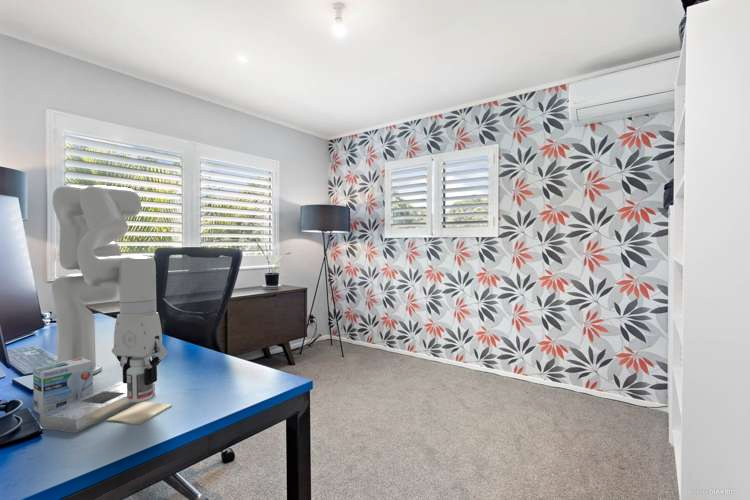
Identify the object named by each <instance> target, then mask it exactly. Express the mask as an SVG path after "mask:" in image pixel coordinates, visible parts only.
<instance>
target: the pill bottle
mask: <svg viewBox="0 0 750 500" xmlns="http://www.w3.org/2000/svg"><path fill="white" fill-rule="evenodd" d="M130 366H131V367H130V368H129V369H128V370H127V400H128V401H130V402H137V403H140V402H144V401H146V400H149V399H151V398H153V396H154V394H153V383H152V384H150V385H145V382H144V370H145V368H147V367H146V364H145V360H144V358H140V357H134V358H131V359H130Z"/></svg>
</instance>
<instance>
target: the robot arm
mask: <svg viewBox="0 0 750 500" xmlns="http://www.w3.org/2000/svg"><path fill="white" fill-rule="evenodd" d="M52 206H53V210H54V214H55V216H56V217H57V220H58V223H59V247H58V248H59V249H58V250H59V252H58V256H59V257H58V258H59V263H60V267H61V268H62V269H64V270H68V271H80V273H70V274H64V275H61V276H58V277H57V278H55V279H54V280H53V282H52V284H51V292H52V297H53V301H54V307H55V317H56V338H57V339H56V343H57V345H56V346H57V349H56V350H57V354H56V355H57V359H55V361H52V362H51V364H54V363H58V362H63V361H68V360H72V359H77V358H81V357H82V358H85V359H87V360H90V361H92V362H93V375H96V374H98V373H99V372H101V371H102V369H103V368H102V367H103V365H101V364H100V363H97V361H96V360H97V359H96V358H97V357H96V356H97V355H96V350H97V349H96V322H95V320H96V319H95V315H94V313H93V312H92V311H91V310H90V309H89V308H87V306H86V305H87V304H91V303H99V302H100V303H101V302H106V301H107V302H109V301H113V300H115V299H116V298H117V297H118V296H119V303H118V308H119V313H118V314H117V315H116V319H115V323H114V333H113V347H112V348H111V353H112V354H113V355H114V356H115V357H116V359H117V360H118V361H119V366H120V367H121V368H122V381H123V383H125V384H126V383H127V370H128V369H129V368H130V367H131V366H130V359H131V358H134V357H140V358H144V360H145V364H146V367H147V368H145V370H144V382H145V385H150V384H152V383H156V382H157V381H158V366H159V365H160V363H161V361H162V360H164V358H165V357H166V356H167V355H168V354H169V352H168V350H167V349H166V347H165V346H164V345H163V332H162V323H161V319H160V315H159V312H157V309H158V308H157V276H156V275H157V265H156V260H155V258H154V257H151V256H144V255H139V254H130V255H129V254H127V255H126V254H125V255H124V254H122V253H121V251H122V250H121V248H120V246H119V244H118V243H117V241H118V240H120V239H122V238H123V237H124V236H125V235H126V234H127V232H128V229H129V227H128V223H127V220H126V219H125V218H134V217H137V216H138V214H139V213H140V212H141V209H142V201H141V198H140V196H139V194H138V193H137V192H136V190H134V189H132V188H127V187H121V186H120V187H118V186H110V185H108V186H107V185H98V184H97V185H96V184H95V185H88V186H81V185H63V186H58V187H57V188H56V189H54V191H53V193H52ZM85 304H86V305H85Z"/></svg>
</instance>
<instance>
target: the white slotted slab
mask: <svg viewBox="0 0 750 500" xmlns="http://www.w3.org/2000/svg"><path fill="white" fill-rule="evenodd" d="M155 384H156V382H154V383H153V395H155V394H156V389H155V388H156V385H155ZM136 404H138V402H130V401H128V400H127V383H126V384H125V383H123V380H122V381H118V382H117V383H115V384H112V385H110V386H106V387H104V388H102V389H100V390H98V391H94V392H93V393H92V394H90V395H87V396H85V397H82V398H80V399H78V400H75V401H73V402H70V403H68V404H66V405H63V406H61V407H58V408H56V409H53V410H51V411H49V412H46V413H44V414H39V426H41V427H42V428H43V429H42V430H50V431H59V432H65V433H76V434H77V433H79V432H82V431H83V430H86V429H87V428H89V427H91V426H93V425H95V424H97V423H100V422H101V421H103V420H105V419H108V418H110V417H112V416H114V415H116V414H118V413H120V412H122V411H124V410H126V409H128V408H130V407H132V406H134V405H136Z"/></svg>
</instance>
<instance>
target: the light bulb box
mask: <svg viewBox="0 0 750 500" xmlns="http://www.w3.org/2000/svg"><path fill="white" fill-rule="evenodd" d="M32 374H33V375H32V377H33V382H32V384H33V387H32V388H33V411H34V412H36V413H37V414H39V415H41V414H44V413H46V412H49V411H51V410H53V409H56V408H58V407H61V406H63V405H66V404H68V403H70V402H73V401H75V400H78V399H80V398H82V397H85V396H87V395H90V394H92V393H94V391H93V390H94V388H93V387H94V385H93V382H94V381H93V375H94V374H93V362H92V361H90V360H87V359H85V358H82V357H81V358H77V359H72V360H68V361H63V362H58V363H54V364H46V365H41V366H36V367H33V371H32Z"/></svg>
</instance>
